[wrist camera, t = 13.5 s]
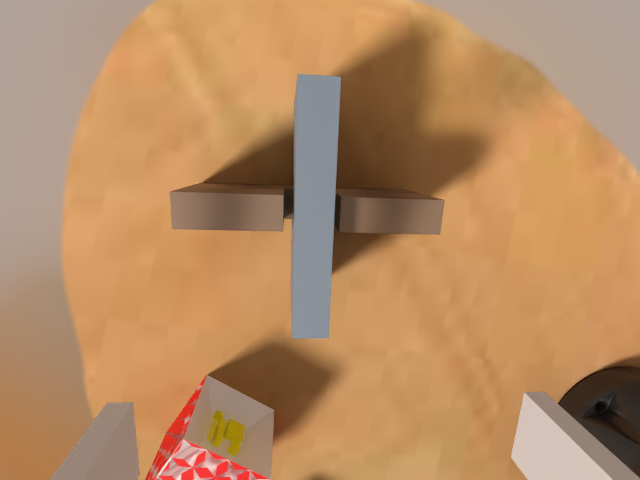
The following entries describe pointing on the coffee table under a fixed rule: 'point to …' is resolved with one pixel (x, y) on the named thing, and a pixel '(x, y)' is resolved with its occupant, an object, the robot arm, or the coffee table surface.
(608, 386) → the robot arm
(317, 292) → the grey slotted plate
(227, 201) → the walnut slotted upright
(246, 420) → the red patterned cube
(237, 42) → the coffee table surface
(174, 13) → the coffee table surface
